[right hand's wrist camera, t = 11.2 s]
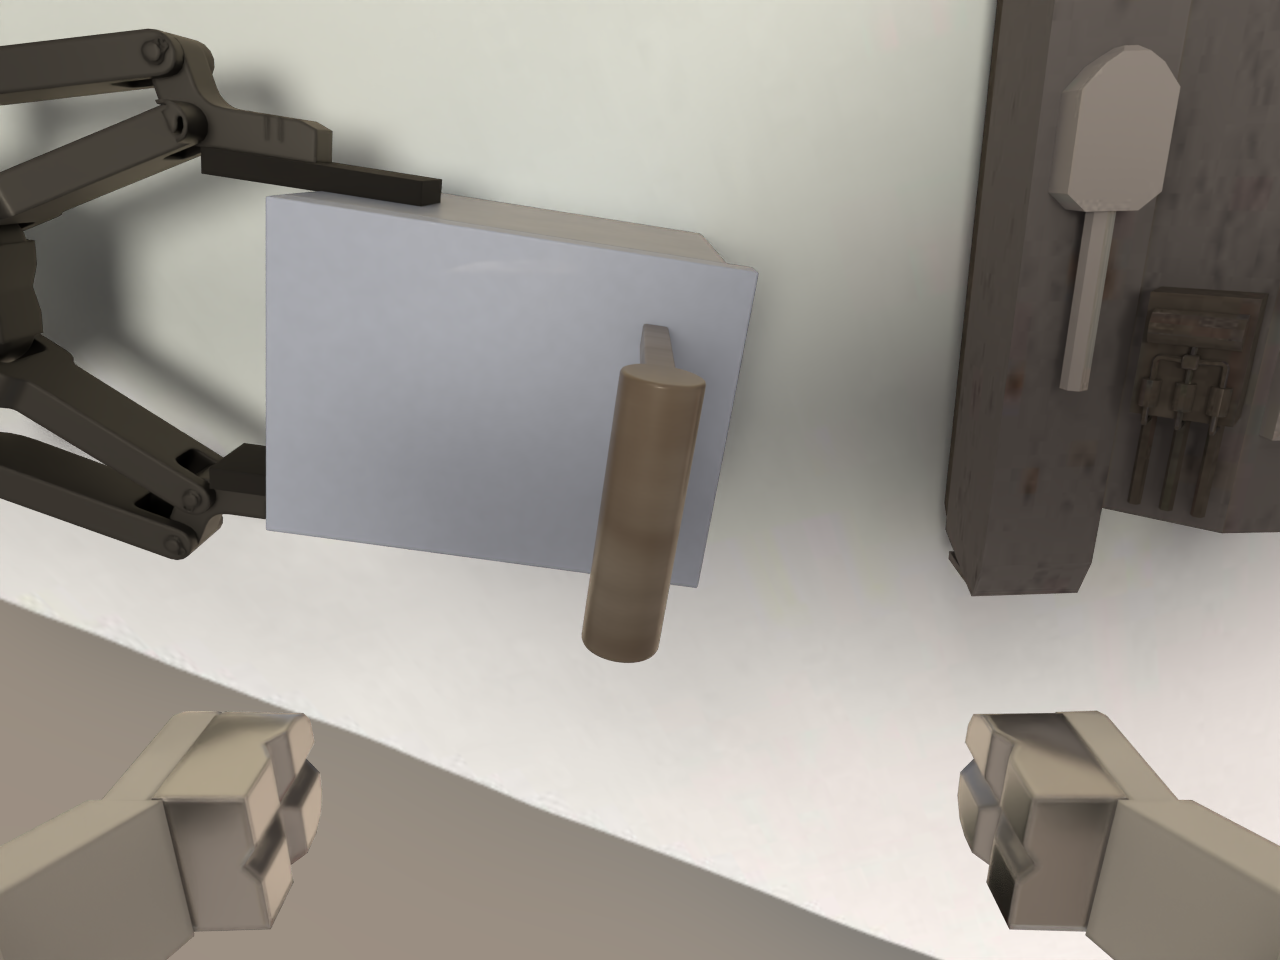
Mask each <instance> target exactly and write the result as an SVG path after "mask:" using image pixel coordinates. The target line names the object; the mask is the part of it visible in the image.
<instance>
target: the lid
mask: <svg viewBox="0 0 1280 960" xmlns="http://www.w3.org/2000/svg"><path fill="white" fill-rule="evenodd" d="M757 279H758V272H757V271H756V270H755V269H754V268H752V267H746V266H740V265H733V264H727V263H720V262H714V261H707V260H701V259H694V258H688V257H682V256H675V255H669V254H662V253H656V252H649V251H643V250H636V249H630V248H624V247H617V246H611V245H604V244H598V243H591V242H585V241H578V240H572V239H566V238H559V237H553V236H546V235H540V234H533V233H527V232H520V231H514V230H508V229H501V228H495V227H488V226H482V225H475V224H469V223H462V222H456V221H450V220H443V219H437V218H430V217H424V216H417V215H411V214H404V213H398V212H392V211H385V210H379V209H372V208H366V207H359V206H353V205H346V204H340V203H334V202H327V201H321V200H314V199H308V198H301V197H295V196H288V195H274V196H267V197H266V530H269V531H277V532H284V533H292V534H299V535H306V536H314V537H321V538H329V539H336V540H344V541H351V542H359V543H366V544H374V545H381V546H388V547H396V548H403V549H411V550H418V551H426V552H433V553H441V554H448V555H455V556H463V557H470V558H478V559H485V560H493V561H500V562H508V563H515V564H523V565H530V566H537V567H545V568H552V569H560V570H567V571H575V572H582V573H590V581H589V587H588V594H587V601H586V608H585V615H584V622H583V629H582V640H583V643H584V645H585V646H586V647H587V649H588V650H590V651H591V652H592V653H594V654H595V655H597V656H599V657H601V658H604V659H607V660H610V661H615V662H622V663H634V662H640V661H644V660H647V659H649V658H650V657H652V656H653V655H654V654H655V653H656V651H657V650H658V647H659V642H660V636H661V631H662V625H663V620H664V614H665V609H666V603H667V598H668V592H669V587H670V584H671V585H679V586H686V587H694V588H697V586H698V582H699V577H700V572H701V567H702V562H703V557H704V552H705V546H706V541H707V536H708V531H709V526H710V521H711V516H712V511H713V505H714V500H715V495H716V490H717V485H718V480H719V475H720V469H721V464H722V459H723V454H724V449H725V444H726V439H727V433H728V428H729V423H730V418H731V413H732V408H733V403H734V397H735V392H736V387H737V382H738V377H739V372H740V367H741V361H742V356H743V351H744V346H745V341H746V336H747V331H748V326H749V320H750V315H751V310H752V305H753V300H754V295H755V290H756V284H757Z"/></svg>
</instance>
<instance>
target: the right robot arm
mask: <svg viewBox="0 0 1280 960" xmlns="http://www.w3.org/2000/svg"><path fill="white" fill-rule="evenodd" d="M314 743H315V740H314V735H313V730H312V725H311V720H310V719H309V718H308V717H307V716H306V715H305V714H304V713H272V712H227V711H226V712H219V711H184V712H182V713H179V714H176V715H174V716H173V717H172V718H171V719H170V720H169V721H168V722H167V723H166V725H165V726H164V727H163V728H162V729H161V730H160V732H159V733H158V734H157V735H156V736H155V737H154V739H153V740H152V741H151V742H150V743H149V745H148V746H147V747H146V748H145V749H144V750H143V752H142V753H141V754H140V755H139V756H138V757H137V759H136V760H135V761H134V762H133V763H132V765H131V766H130V767H129V768H128V769H127V770H126V772H125V773H124V774H123V775H122V776H121V777H120V779H119V780H118V781H117V782H116V783H115V785H114V786H113V787H112V788H111V789H110V790H109V792H108V793H107V794H106V795H105V796H104V798H103V799H102V800H87V801H85V802H83V803H82V804H80V805H78V806H76V807H74V808H72V809H70V810H68V811H66V812H64V813H62V814H61V815H59V816H57V817H55V818H53V819H51V820H49V821H47V822H45V823H43V824H41V825H39V826H38V827H36V828H34V829H32V830H30V831H28V832H26V833H24V834H22V835H20V836H18V837H16V838H15V839H13V840H11V841H9V842H7V843H5V844H3V845H1V846H0V960H167V959H168V958H169V957H170V956H171V955H173V954H174V953H175V952H176V951H177V950H178V949H179V948H181V947H182V946H183V945H184V944H185V943H186V942H188V941H189V940H190V939H191V938H192V937H193V936H194V932H195V931H228V930H262V929H271V928H272V925H273V923H274V921H275V919H276V917H277V915H278V913H279V911H280V909H281V907H282V905H283V903H284V901H285V899H286V897H287V895H288V893H289V891H290V889H291V886H292V884H293V876H292V870H291V864H293V863H294V862H295V861H297V860H298V859H300V858H301V857H302V856H304V855H305V854H306V853H308V851H309V849H310V847H311V844H312V842H313V840H314V838H315V836H316V833H317V829H318V824H319V820H320V815H321V810H322V785H321V778H320V772H319V771H318V770H317V769H316V768H315V767H314V766H313V765H312V764H311V763H310V762H309V761H308V760H307V759H306V757H307V756H308V754H309V752H310V750H311V748H312V747H313V745H314ZM965 743H966V745H967V747H968V748H969V750H970V752H971V754H972V756H973V758H974V759H973V760H972V761H971V762H970V763H969V764H968V765H967V766H966V767H965V768H964V769H963V770H962V771H961V772H960V779H959V787H958V806H959V817H960V822H961V825H962V829H963V832H964V836H965V838H966V840H967V842H968V845H969V847H970V849H971V851H972V853H974V854H975V855H976V856H978V857H979V858H980V859H982V860H983V861H985V862H986V863H987V864H989V870H988V876H987V884H988V886H989V889H990V891H991V893H992V895H993V897H994V899H995V901H996V903H997V905H998V907H999V909H1000V911H1001V913H1002V915H1003V917H1004V919H1005V921H1006V923H1007V925H1008V927H1009V929H1015V930H1050V931H1085V932H1086V936H1087V937H1088V938H1089V939H1090V940H1092V941H1093V942H1094V943H1095V944H1096V945H1097V946H1099V947H1100V948H1101V949H1102V950H1103V951H1104V952H1106V953H1107V954H1108V955H1109V956H1110V957H1111V958H1112V959H1114V960H1280V846H1279V845H1277V844H1275V843H1273V842H1271V841H1269V840H1267V839H1265V838H1263V837H1261V836H1259V835H1258V834H1256V833H1254V832H1252V831H1250V830H1248V829H1246V828H1244V827H1242V826H1240V825H1239V824H1237V823H1235V822H1233V821H1231V820H1229V819H1227V818H1225V817H1223V816H1221V815H1219V814H1218V813H1216V812H1214V811H1212V810H1210V809H1208V808H1206V807H1204V806H1202V805H1200V804H1198V803H1197V802H1195V801H1193V800H1178V799H1177V797H1176V796H1175V795H1174V794H1173V793H1172V792H1171V790H1170V789H1169V788H1168V787H1167V786H1166V785H1165V783H1164V782H1163V781H1162V780H1161V779H1160V778H1159V776H1158V775H1157V774H1156V773H1155V772H1154V770H1153V769H1152V768H1151V767H1150V766H1149V765H1148V763H1147V762H1146V761H1145V760H1144V759H1143V758H1142V756H1141V755H1140V754H1139V753H1138V752H1137V751H1136V749H1135V748H1134V747H1133V746H1132V745H1131V743H1130V742H1129V741H1128V740H1127V739H1126V738H1125V736H1124V735H1123V734H1122V733H1121V732H1120V731H1119V729H1118V728H1117V727H1116V726H1115V725H1114V724H1113V722H1112V721H1111V720H1110V719H1109V718H1108V716H1106V715H1104V714H1102V713H1100V712H1098V711H1074V712H1056V713H1028V714H973V716H972V718H971V720H970V722H969V724H968V728H967V734H966V740H965Z"/></svg>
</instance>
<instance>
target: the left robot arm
mask: <svg viewBox="0 0 1280 960" xmlns="http://www.w3.org/2000/svg"><path fill="white" fill-rule="evenodd" d="M213 70H214V58H213V56H212V54H211V51H210V50H209V49H208V48H207V47H206V46H205V45H204V44H202V43H200V42H199V41H196V40H192V39H189V38H185V37H182V36H178V35H174V34H171V33H167V32H163V31H160V30H155V29H142V30H133V31H125V32H116V33H108V34H99V35H91V36H82V37H74V38H66V39H57V40H49V41H40V42H32V43H23V44H15V45H6V46H0V105H9V104H18V103H27V102H35V101H44V100H53V99H61V98H70V97H78V96H87V95H96V94H104V93H113V92H122V91H130V90H139V89H148V88H155V90H156V93H157V96H158V99H159V100H155V101H156V103H157V104H160V106H158V107H155V108H153V109H151V110H148V111H146V112H143V113H141V114H139V115H136V116H134V117H131V118H129V119H127V120H124V121H122V122H119V123H117V124H115V125H112V126H110V127H108V128H105V129H103V130H100V131H98V132H96V133H93V134H91V135H88V136H86V137H84V138H81V139H79V140H76V141H74V142H72V143H69V144H67V145H64V146H62V147H60V148H57V149H55V150H52V151H50V152H48V153H45V154H43V155H41V156H38V157H36V158H33V159H31V160H29V161H26V162H24V163H21V164H19V165H17V166H14V167H12V168H9V169H7V170H5V171H2V172H0V408H10V409H13V410H16V411H18V412H19V413H21V414H23V415H24V416H26V417H28V418H29V419H31V420H33V421H34V422H36V423H38V424H39V425H41V426H43V427H44V428H46V429H48V430H49V431H51V432H52V433H54V434H56V435H57V436H59V437H61V438H62V439H64V440H66V441H67V442H69V443H71V444H72V445H74V446H76V447H77V448H79V449H81V450H82V451H84V452H85V453H87V454H89V455H90V456H92V457H94V458H95V459H97V460H99V461H100V462H102V463H104V464H105V465H104V464H101V463H98V462H95V461H93V460H90V459H87V458H84V457H82V456H79V455H76V454H74V453H71V452H68V451H65V450H63V449H60V448H57V447H54V446H52V445H49V444H46V443H44V442H41V441H38V440H35V439H32V438H29V437H26V436H22V435H17V434H12V433H5V432H0V498H1V499H4V500H7V501H10V502H12V503H15V504H18V505H21V506H24V507H27V508H29V509H32V510H35V511H38V512H41V513H43V514H46V515H49V516H52V517H55V518H57V519H60V520H63V521H66V522H69V523H71V524H74V525H77V526H80V527H83V528H86V529H88V530H91V531H94V532H97V533H100V534H102V535H105V536H108V537H111V538H114V539H116V540H119V541H122V542H125V543H128V544H130V545H133V546H136V547H139V548H142V549H145V550H147V551H150V552H153V553H156V554H159V555H161V556H164V557H167V558H170V559H175V560H180V559H184V558H186V557H187V556H189V555H190V554H191V553H192V552H193V551H194V550H195V549H197V548H198V547H199V546H200V545H201V544H202V543H203V542H205V541H206V540H207V539H208V538H209V537H210V536H211V535H213V534H214V533H215V532H216V531H217V530H218V529H219V528H220V527H221V525H222V524H223V517H222V514H231V515H239V516H246V517H253V518H261V519H266V446H261V445H254V444H247V443H243V444H242V445H241V446H239V447H238V448H236V449H235V450H234V451H232V452H231V453H229V454H228V455H227V456H225V457H224V458H223V457H222V456H220V455H218V454H217V453H215V452H214V451H212V450H210V449H209V448H207V447H206V446H204V445H202V444H201V443H199V442H198V441H196V440H195V439H193V438H191V437H190V436H188V435H187V434H185V433H183V432H182V431H180V430H179V429H177V428H175V427H174V426H172V425H171V424H169V423H167V422H166V421H164V420H163V419H161V418H159V417H158V416H156V415H155V414H153V413H151V412H150V411H148V410H147V409H145V408H143V407H142V406H140V405H139V404H137V403H136V402H134V401H132V400H131V399H129V398H128V397H126V396H124V395H123V394H121V393H120V392H118V391H116V390H115V389H113V388H112V387H110V386H108V385H107V384H105V383H104V382H102V381H100V380H99V379H97V378H96V377H94V376H92V375H91V374H89V373H88V372H86V371H84V370H83V369H81V368H80V367H78V366H77V365H75V363H74V360H73V356H72V355H71V354H70V353H69V352H68V351H66V350H65V349H63V348H61V347H60V346H58V345H57V344H55V343H54V342H52V341H50V340H49V339H47V338H46V337H44V336H42V335H41V334H40V333H43V325H42V314H41V309H40V306H39V303H38V300H37V297H36V295H35V292H34V289H33V282H34V276H35V271H36V266H37V260H36V249H35V241H34V240H28V239H26V237H25V235H24V233H23V231H24V230H27V229H29V228H32V227H34V226H37V225H39V224H41V223H44V222H46V221H49V220H51V219H54V218H56V217H58V216H60V215H62V212H64V211H66V210H68V209H71V208H73V207H76V206H78V205H81V204H83V203H86V202H88V201H91V200H93V199H95V198H98V197H100V196H103V195H105V194H108V193H110V192H113V191H115V190H118V189H120V188H122V187H125V186H127V185H130V184H132V183H135V182H137V181H140V180H142V179H144V178H147V177H149V176H152V175H154V174H157V173H159V172H162V171H164V170H167V169H169V168H171V167H174V166H176V165H179V164H181V163H184V162H186V161H189V160H191V159H194V158H196V157H198V156H201V171H202V174H209V175H215V176H222V177H228V178H234V179H241V180H247V181H254V182H260V183H267V184H273V185H280V186H286V187H293V188H299V189H306V190H312V191H324V192H330V193H337V194H343V195H350V196H356V197H362V198H369V199H375V200H382V201H388V202H395V203H401V204H407V205H414V206H420V207H422V206H426V205H431V204H436V203H441V187H442V179H436V178H429V177H423V176H417V175H410V174H404V173H397V172H391V171H385V170H378V169H372V168H366V167H359V166H353V165H346V164H340V163H334V162H332V131H331V130H330V129H328V128H326V127H324V126H323V125H321V124H319V123H318V122H314V121H308V120H302V119H295V118H289V117H283V116H277V115H270V114H264V113H258V112H251V111H245V110H240V109H237V108H234V107H232V106H231V105H229V104H228V103H227V102H226V101H225V100H224V99H223V98H222V97H221V95H220V94H219V92H218V89H217V87H216V84H215V81H214V78H213V75H212V74H213ZM106 465H107V466H106Z"/></svg>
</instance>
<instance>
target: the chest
mask: <svg viewBox="0 0 1280 960" xmlns="http://www.w3.org/2000/svg"><path fill="white" fill-rule="evenodd" d="M285 195H288V196H295V197H301V198H308V199H314V200H321V201H327V202H334V203H340V204H346V205H353V206H359V207H366V208H372V209H379V210H385V211H392V212H398V213H404V214H411V215H417V216H424V217H430V218H437V219H443V220H450V221H456V222H462V223H469V224H475V225H482V226H488V227H495V228H501V229H508V230H514V231H520V232H527V233H533V234H540V235H546V236H553V237H559V238H566V239H572V240H578V241H585V242H591V243H598V244H604V245H611V246H617V247H624V248H630V249H636V250H643V251H649V252H656V253H662V254H669V255H675V256H682V257H688V258H694V259H701V260H707V261H714V262H720V263H726V262H725V261H724V260H723V259H722V257H721V256H720V255H719V254H718V253H717V252H716V251H715V249H714V248H713V247H712V246H711V245H710V244H709V242H708V241H707V240H706V239H705V238H704V237H703V236H702V235H701V234H700V233H693V232H687V231H681V230H674V229H668V228H662V227H655V226H649V225H642V224H636V223H630V222H623V221H617V220H611V219H604V218H598V217H591V216H585V215H579V214H572V213H566V212H560V211H553V210H547V209H540V208H534V207H528V206H521V205H515V204H508V203H502V202H496V201H489V200H483V199H477V198H470V197H464V196H457V195H451V194H445V193H441V203H436V204H431V205H426V206H422V207H420V206H414V205H407V204H401V203H395V202H388V201H382V200H375V199H369V198H362V197H356V196H350V195H343V194H337V193H330V192H324V191H316V192H306V193H295V194H285Z"/></svg>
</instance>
